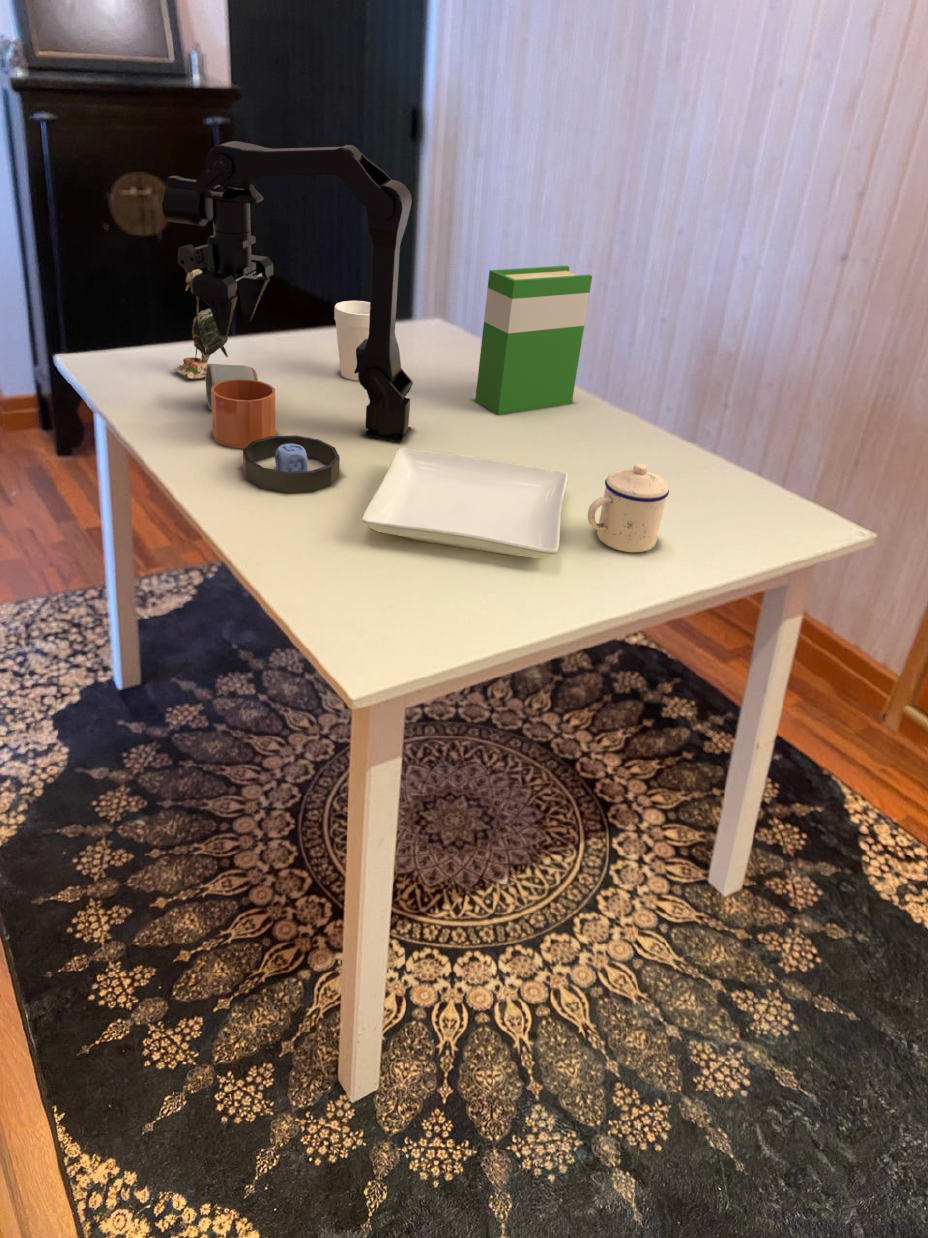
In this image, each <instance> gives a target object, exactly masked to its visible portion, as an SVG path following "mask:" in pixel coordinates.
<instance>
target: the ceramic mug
mask: <svg viewBox="0 0 928 1238" xmlns="http://www.w3.org/2000/svg"><path fill="white" fill-rule="evenodd" d="M233 379H250V380H256V381H259V377H258V373H257V371H256V370H255V368H254V367H252V366H247V365H243V364H240V365H239V364H221V363H220V364H219V363H208V366H207V368H206V377H205V395H206V401H207V406H208V408H209V410H211V411H212V404H211V387H212V386H213V385H215V384H216V383H218V382H222V381H225V380H233Z"/></svg>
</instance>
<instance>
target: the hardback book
mask: <svg viewBox="0 0 928 1238" xmlns="http://www.w3.org/2000/svg"><path fill="white" fill-rule="evenodd" d="M592 280H593V275H592V274H576V273H573V272H571V271H570V266H569V265H553V266H539V267H538V266H536V267H523V268H522V267H521V268H505V269H504V268H503V269H490V270H489V271H488V280H487V287H486V288H487V290H486V299H485V306H484V318H483V324H482V325H483V327H482V334H481V336H482V337H481V343H480V344H481V345H480V352H479V353H480V354H479V362H478V373H477V381H476V391H475V400H474V401H475V402H476V403H478V404H480V405H482V406H483V407H485V408H487V409H488V410H490V411H491V412H493V413H494V414H497V415H503V414H504V415H505V414H510V413H518V412H523V411H529V410H535V409H542V408H548V407H550V408H551V407H556V406H562V405H568V404H572V403H573V399H574V392H575V386H576V385H575V384H576V379H577V373H578V367H579V360H580V354H581V348H582V343H583V337H584V330H585V324H586V318H587V312H588V311H587V310H588V304H589V299H590V292H591V287H592V286H591V285H592Z"/></svg>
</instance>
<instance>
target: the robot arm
mask: <svg viewBox="0 0 928 1238" xmlns="http://www.w3.org/2000/svg"><path fill="white" fill-rule="evenodd" d="M319 176H322V177H323V176H338V177H339V178H340V179H341V180H342V181H343V182H344V183H345V185H346V186H347V188H348V189H349V190H350V192H351V193H352V194H353V195H354V197H355V198H356V199H357V201H359V202H360V204H362V205H363V207H365V217H366V225H367V231H368V234H369V237H370V240H371V245H372V246H371V247H372V254H371V255H372V256H371V276H370V277H371V279H370V298H369V299H370V301H369V302H370V320H369V336H368V339H365V340H364V341H363V342H362V343H361V344H360V345H359V346H358V347H357V348H356V358H357V366H356V369H355V372H354V373H355V374H356V373H358V372H359V373H358V378H359V380H358V383H359V385H360V386H361V387H362V388H363V389H364V390H365V391H366V394H367V397H368V400H369V403H368V404H367V405H366V407H365V427H364V428H365V430H366V431H365V432H364V436H365V437H367V438H373V439H379V440H383V441H384V440H385V441H390V442H395V443H402V442H403V441H404V440H405V438H406V437H407V436H408V434H409V433H410V432H411V431H412V427H411V426H409V423H410V408H411V398H409V397H407V395H408V394H409V393H410V392H411V389H412V387H413V384H414V382H413V380H412V379H411V378H410V376H409V375H408V374H407V373H406V372H405V371H404V369H403V368H402V363H401V362H402V361H401V354H400V353H401V352H400V347H399V344H398V340H397V337H396V319H397V317H396V316H397V301H398V286H399V283H398V282H399V272H400V271H399V270H400V254H401V253H400V252H401V245H402V244H401V243H402V240H403V237H404V234H405V231H406V229H407V224H408V220H409V216H410V212H411V208H412V202H413V201H412V194H411V191H410V190H409V189H408V188H407V186H406V185H405V184H403V183H402V182H401V181H398V180H395V179H392V178H391V177H390V176H389V175H388V174H387V173H386V172H385V171H384V170H383V169H381V168H380V167H379V166H378V165H376V164H375V163H374V162H372V161H371V160H370V159H368V158H367V157H366V156H365V155H364V154H363V152H361V151H360V150H359V148H358V147H356V146H355V145H352V144H345V145H343V146H324V147H321V146H320V147H293V148H292V147H285V148H270V147H264V146H261V145H257V144H253V143H248V142H244V141H243V142H242V141H238V140H237V141H236V140H232V141H228V142H224V143H221V144H218V145H214V146H213V147H212V148H210V150H209V151H208V152H207V155H206V158H205V167H204V169H203V170H202V172H201V173H200V174H199V176H198V177H197V179H191V178H184V177H182V176H179V175H171V176H168V177H167V178H166V187H165V188H164V189H165V190H164V192H163V198H162V201H161V207H162V214H163V217H164V219H165V221H167V222H168V223H174V224H183V225H190V226H197V227H205V226H206V225H207V224H208V223H209V221H211V220H212V224H213V235H210V236H208V238H207V240H206V241H207V242H206V243H207V244H203V245H199V246H196V247H194V245H193V244H191V243H190V244H187V245H183V246H181V247H178V251H177V253H178V254H177V261H176V262H177V263H176V264H177V265H179V266H180V267H181V268H183V269H184V270H185V271H184V272H185V273H186V274H187V273H190V272H192V271H193V270H196V269H200V270H201V269H204V268H206V270H205V271H202V272H203V273H200V274H198V275H196V276H195V277H194V278H193V279H192V280H191V287H190V292H191V294H192V295H195V297H196V296H197V297H198V298H199V299H201V300H202V301H204V302H205V303H206V304H207V306H208V309H209V308H210V310H211V312H212V315H213V318H214V320H215V323H216V326H217V328H218V331H219V334H220V335H221V336H227V334H228V333H229V331H230V328H231V327H230V326H231V323H232V319H233V315H234V312H235V308H236V304H237V301H238V295H236V294H237V290H238V291H239V299H240V306H241V307H240V308H241V313H242V319H243V321H244V322H246V323H250V322H251V321H252V319H253V317H254V314H255V312H256V310H257V307H258V306H259V302H260V301H261V299H262V296H263V294H264V291H265V290H266V288H267V285H268V283H269V282H270V280H271V278H270V277H272V276H273V275H274V263H273V261H272V260H271V258H269V256H264V255H256V254H252V245H254V244H256V242H257V241H256V238H257V237H256V236H255V235H252V231H251V230H252V229H251V205H256V204H258V203H261V202H262V201H264V196H263V195H262V194H261V193H260V192H259V191H258V190H257V189H256V188H255V186H254V185H253V184H249V185H246V187H245V188H237V187H231V186H237V185H240V184H244V183H248V182H253V181H257V180H260V179H265V178H275V177H277V178H278V177H319ZM220 187H226V188H225V189H224V190H223V192H222V191H213V190H215V189H217V188H220ZM228 335H229V334H228Z"/></svg>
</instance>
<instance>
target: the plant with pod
mask: <svg viewBox="0 0 928 1238" xmlns="http://www.w3.org/2000/svg"><path fill="white" fill-rule="evenodd" d="M203 272H204V271H203V270H201V268H200V269H196V270H193V271H192V272H190V273H186V276H185V283H187V284H186V286H185V289H184V290H185V291H186V292H187V291H188V290H189V288H191V280H192V279H193V278H194V277H195V276H196V275H198V274H200V273H203ZM195 298H196V299H195V300H196V311H195V312H196V314H195V317H194V318H193V324H192V325H191V328H192V331H191V335H192V341H193V346H194V347H195V356H194V357H184V358H183V360H182V361H183V363H182V364H179V365H178V366H176V367H174V368H172V371H176V372H178V373H179V374H180V375H182V376H183V377H184V379H194V380H195V379H196V380H198V379H202V378H206V368H207V366H208V364H209V363H208V361H209V359H210V356H211V355H213V354H214V353H216V352H217V351H218V350H221V351H222V353H223V355H224V356H225V357H226V358H229V355H228V353H227V350H226V348H225V344H226V343H227V342H228V338H229V332H228V334H227V336H221V335H220V334H219V331H218V328H217V326H216V323H215V320H214V318H213V315H212V312H211V310H210V308H209V307H208V308H206V309H204V310H201V311H200V312H199V310H200V309H199V308H200V302H199V301H200V298H198V297H197V296H196V295H195ZM198 351H199V352H200V353H201V356H200V357H201V358H200V357H197V355H198Z"/></svg>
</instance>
